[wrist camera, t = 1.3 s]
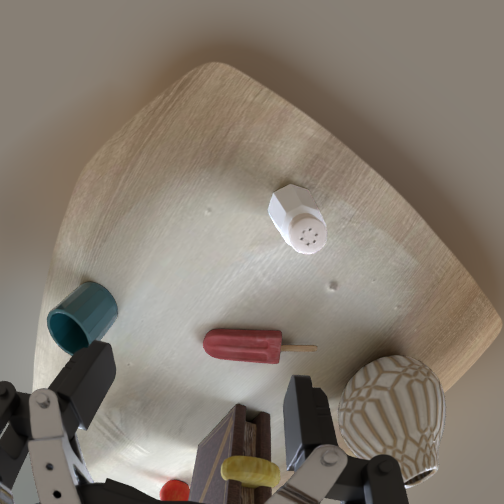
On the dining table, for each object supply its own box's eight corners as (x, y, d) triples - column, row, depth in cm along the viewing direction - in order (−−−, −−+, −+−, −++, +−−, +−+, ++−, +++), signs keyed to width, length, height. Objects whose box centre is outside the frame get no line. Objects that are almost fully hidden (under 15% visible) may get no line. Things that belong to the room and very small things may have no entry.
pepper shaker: (257, 211, 30) (254, 241, 20) (289, 173, 29) (306, 182, 18) (294, 242, 31) (310, 285, 21) (326, 205, 30) (359, 232, 19)
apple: (160, 480, 55) (152, 509, 45) (169, 474, 52) (161, 506, 42) (186, 489, 56) (181, 518, 46) (197, 484, 54) (192, 515, 44)
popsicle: (315, 365, 35) (203, 359, 35) (314, 356, 36) (205, 351, 37) (321, 338, 33) (201, 332, 34) (319, 330, 35) (204, 325, 36)
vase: (343, 419, 42) (364, 512, 23) (317, 366, 37) (342, 489, 18) (423, 383, 39) (466, 466, 20) (416, 320, 35) (486, 419, 16)
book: (228, 458, 47) (218, 557, 24) (190, 446, 46) (169, 548, 22) (285, 407, 40) (293, 547, 17) (238, 391, 39) (224, 543, 16)
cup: (69, 290, 35) (38, 317, 27) (100, 274, 34) (68, 302, 26) (94, 330, 37) (69, 361, 29) (126, 318, 36) (102, 353, 28)
